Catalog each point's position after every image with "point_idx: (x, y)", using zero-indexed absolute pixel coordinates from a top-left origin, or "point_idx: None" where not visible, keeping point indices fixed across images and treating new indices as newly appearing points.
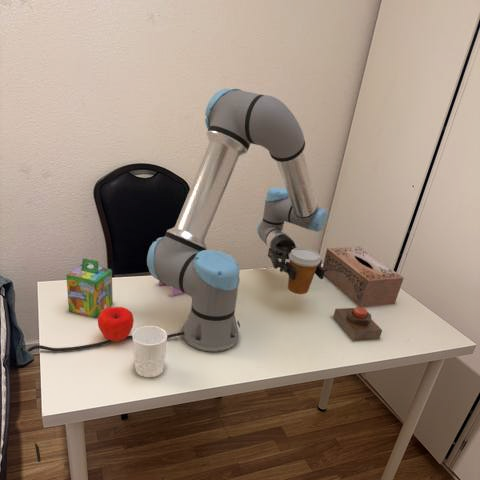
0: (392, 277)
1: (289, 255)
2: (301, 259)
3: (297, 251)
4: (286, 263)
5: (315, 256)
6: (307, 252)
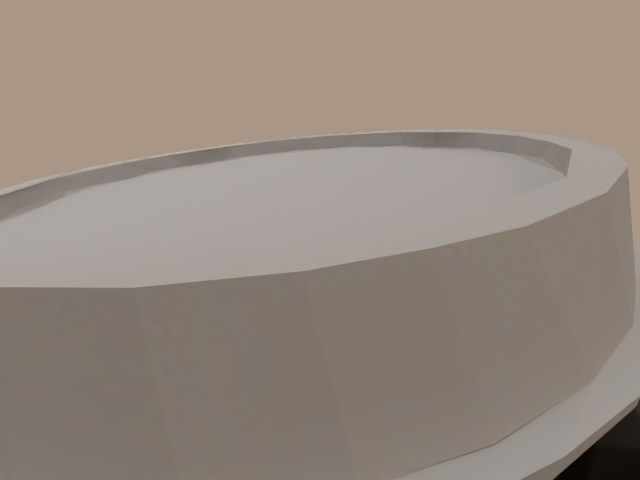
0: None
1: (635, 275)
2: (437, 140)
3: (364, 224)
4: (637, 433)
5: (174, 174)
6: (140, 212)
